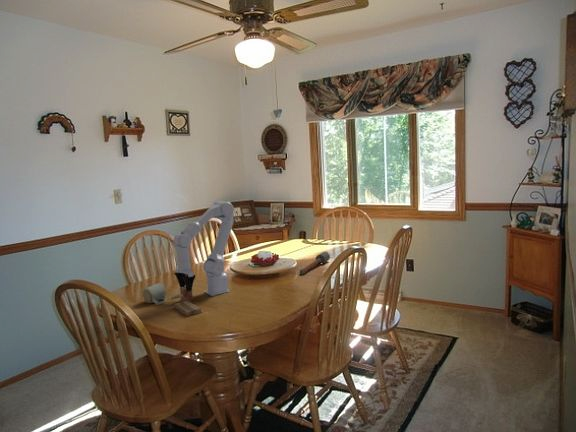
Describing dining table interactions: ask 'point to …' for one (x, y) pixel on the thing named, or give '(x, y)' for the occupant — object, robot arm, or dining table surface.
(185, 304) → the board
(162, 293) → the ceramic mug
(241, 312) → the dining table surface
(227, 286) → the robot arm
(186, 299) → the block with upright post
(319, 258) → the mallet
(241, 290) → the dining table surface
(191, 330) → the dining table surface
